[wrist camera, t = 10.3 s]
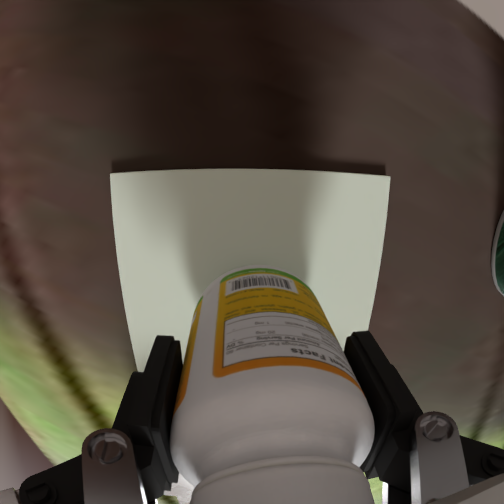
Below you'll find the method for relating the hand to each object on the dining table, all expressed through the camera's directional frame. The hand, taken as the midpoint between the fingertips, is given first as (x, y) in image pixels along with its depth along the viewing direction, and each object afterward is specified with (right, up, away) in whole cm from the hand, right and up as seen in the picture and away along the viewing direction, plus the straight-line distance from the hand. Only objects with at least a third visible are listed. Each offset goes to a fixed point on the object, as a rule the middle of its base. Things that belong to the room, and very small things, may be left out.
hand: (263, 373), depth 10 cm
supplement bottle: (0, +1, +4) cm, 4 cm away
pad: (0, +2, +5) cm, 5 cm away
